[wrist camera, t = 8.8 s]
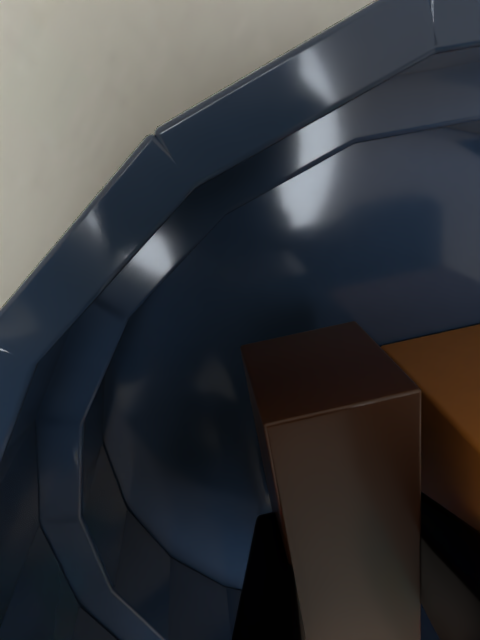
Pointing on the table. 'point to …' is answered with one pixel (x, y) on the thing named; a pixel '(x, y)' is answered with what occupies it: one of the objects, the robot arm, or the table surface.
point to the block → (447, 415)
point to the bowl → (225, 315)
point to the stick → (342, 478)
